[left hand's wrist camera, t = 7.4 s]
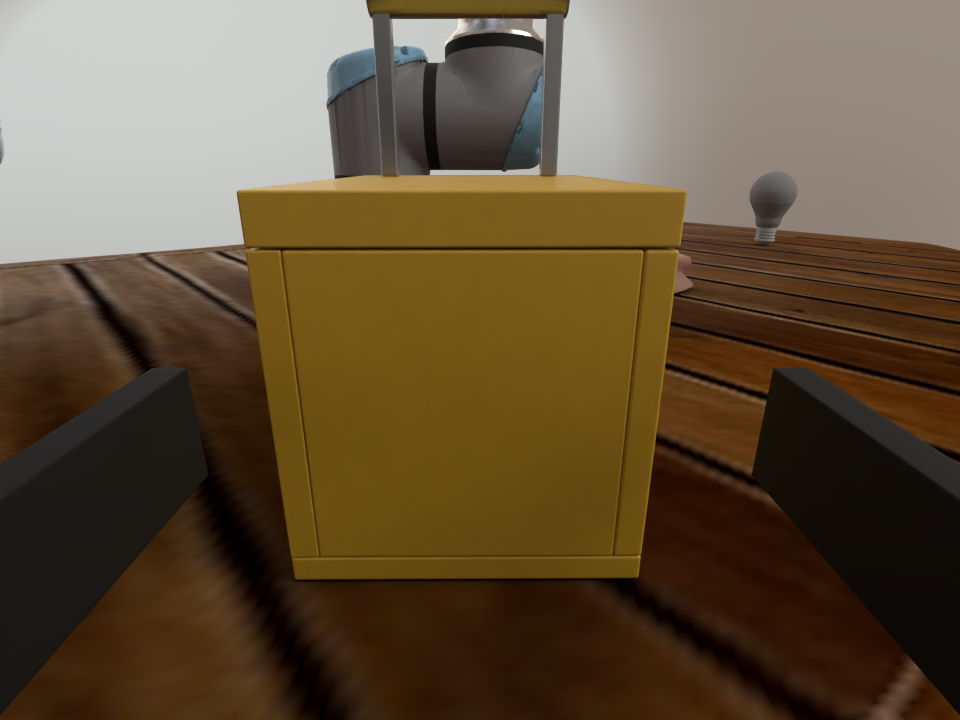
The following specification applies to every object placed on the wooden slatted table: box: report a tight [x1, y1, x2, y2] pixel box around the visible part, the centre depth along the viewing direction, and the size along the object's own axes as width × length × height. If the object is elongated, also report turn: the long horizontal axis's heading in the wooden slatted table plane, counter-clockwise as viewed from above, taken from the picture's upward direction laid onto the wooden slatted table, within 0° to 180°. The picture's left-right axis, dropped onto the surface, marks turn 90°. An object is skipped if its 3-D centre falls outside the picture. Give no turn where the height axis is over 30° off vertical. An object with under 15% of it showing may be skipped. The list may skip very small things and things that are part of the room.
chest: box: [246, 247, 679, 580], centre depth 21 cm, size 14×10×10 cm
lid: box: [237, 0, 687, 248], centre depth 18 cm, size 15×10×9 cm
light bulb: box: [750, 172, 797, 244], centre depth 78 cm, size 6×6×10 cm
